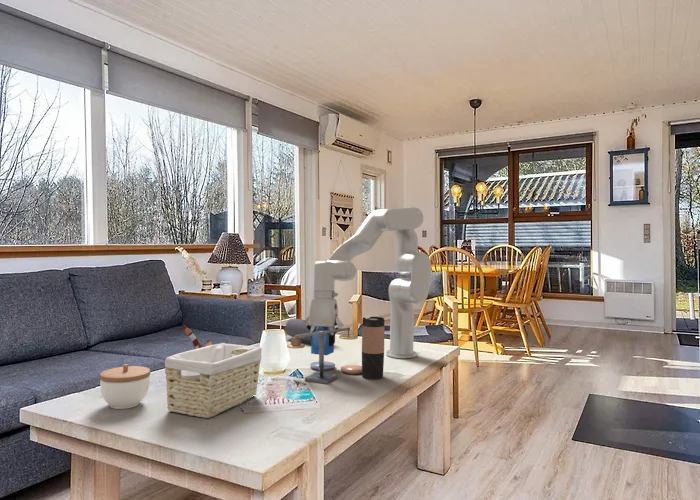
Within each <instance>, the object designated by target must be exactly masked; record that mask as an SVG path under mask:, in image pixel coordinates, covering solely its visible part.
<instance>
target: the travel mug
mask: <svg viewBox="0 0 700 500" xmlns="http://www.w3.org/2000/svg"><path fill="white" fill-rule="evenodd" d="M384 361H385V317H381V316H370V317H368V318H366V317H362V329H361V366H362V373H361V376H362V378H363V379H366V380H374V381H375V380H381V379H383V377H384Z"/></svg>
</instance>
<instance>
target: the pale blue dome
mask: <svg viewBox="0 0 700 500" xmlns="http://www.w3.org/2000/svg"><path fill="white" fill-rule="evenodd" d="M309 366H310V368H312V369H313V370H316V371H319V361H314V362H311V363H310V365H309ZM335 367H336V363H335V362H331V361H325V360H324V371H329V370H332V369H333V368H335Z"/></svg>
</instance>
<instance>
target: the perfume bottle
mask: <svg viewBox="0 0 700 500" xmlns="http://www.w3.org/2000/svg"><path fill="white" fill-rule="evenodd" d="M327 330H329V328H327V327H322V326H321V327H319V328H318V329H316V330H315V331H314V332H320V331H327ZM329 335H330V333H326V334H325V336H324V356H329V355H332V353H335V344H334V345H333V346H329ZM310 345H311V346H310V349H311V350H310V354H311V355H319V335H312V336H311V344H310Z"/></svg>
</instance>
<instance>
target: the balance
mask: <svg viewBox="0 0 700 500" xmlns="http://www.w3.org/2000/svg"><path fill="white" fill-rule="evenodd" d="M346 331H347V334H341V335H339V337H338V338H339V339H341V340H347V341H349V340H350V341H351V340H352V341H353V340H357V339H358V338H359V336H358V335H356V334H350V331H351V327H350V326H348V327H342V328H341V329H334V330H327V331H320V332H313V333H306V334H299V335H295V337H290V343H288V344H286V347H287V348H288V349H295V350H296V349H303V348H305V346H306V344H304V343H302V342H301V337H305V336H312V335H319V354H318V362H319V370H318V372H317V371H315V372H313V373H311V374H309V375H308V376H305V377H304V381H305V380H307V381H306V382H310V383H311V382H312V383H319V384H325V385H326V384H329V383H331V382H332V381H334V380H336V379H337V378H338V375H337V374H334V373H327V372H326V373H325V372H324V371H325V370H324V361H325V360H324V359H325V355H324V336H325V334H326V333H333V332H337V333H339V332H340V333H341V332H346Z"/></svg>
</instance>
